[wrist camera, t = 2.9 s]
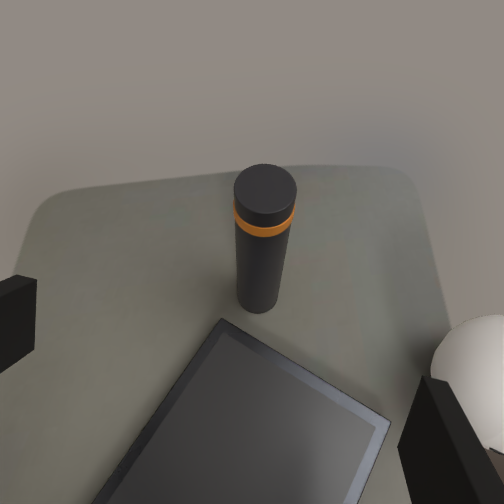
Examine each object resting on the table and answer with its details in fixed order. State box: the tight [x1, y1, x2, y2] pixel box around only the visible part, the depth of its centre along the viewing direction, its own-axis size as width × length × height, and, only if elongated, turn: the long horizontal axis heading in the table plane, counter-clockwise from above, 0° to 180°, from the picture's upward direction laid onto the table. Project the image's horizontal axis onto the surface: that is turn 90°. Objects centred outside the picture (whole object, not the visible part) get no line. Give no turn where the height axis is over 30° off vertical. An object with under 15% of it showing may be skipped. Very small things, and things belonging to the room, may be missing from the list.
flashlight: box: [233, 164, 297, 313], centre depth 23 cm, size 3×3×12 cm
